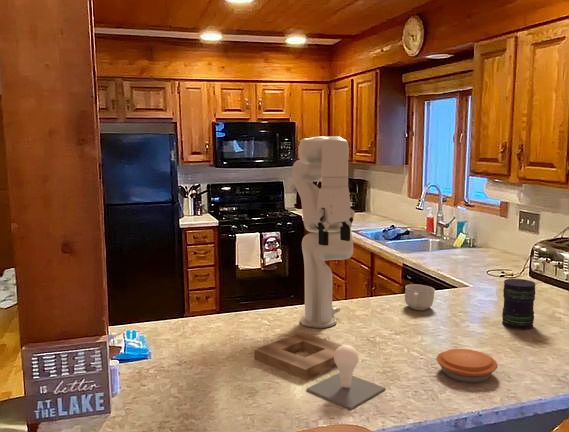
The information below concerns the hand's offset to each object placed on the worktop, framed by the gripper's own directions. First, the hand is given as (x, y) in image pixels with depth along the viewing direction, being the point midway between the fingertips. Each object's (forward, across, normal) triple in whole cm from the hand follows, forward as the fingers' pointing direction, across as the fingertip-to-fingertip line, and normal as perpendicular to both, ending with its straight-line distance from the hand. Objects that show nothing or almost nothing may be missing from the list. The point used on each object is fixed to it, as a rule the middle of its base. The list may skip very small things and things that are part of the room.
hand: (334, 242), depth 150 cm
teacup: (+34, -55, -5) cm, 65 cm away
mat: (+33, +16, +17) cm, 41 cm away
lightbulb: (+33, +16, +17) cm, 40 cm away
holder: (+33, +9, -4) cm, 35 cm away
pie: (+34, -14, +34) cm, 50 cm away
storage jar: (+34, -62, +29) cm, 76 cm away
